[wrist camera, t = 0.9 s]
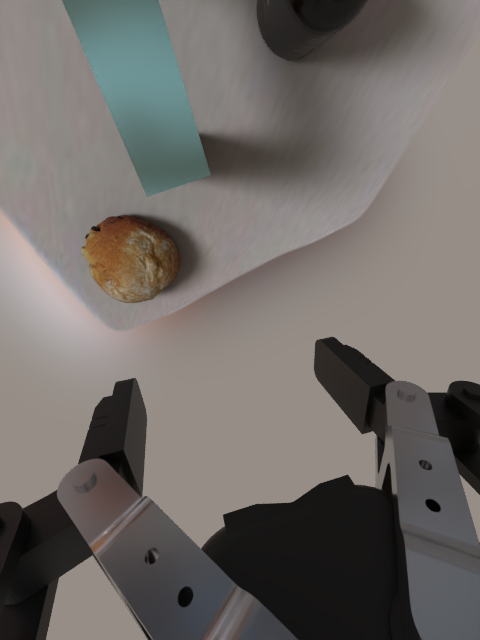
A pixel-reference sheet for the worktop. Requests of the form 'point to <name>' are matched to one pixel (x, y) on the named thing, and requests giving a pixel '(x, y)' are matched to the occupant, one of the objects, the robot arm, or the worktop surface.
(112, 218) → the bread roll
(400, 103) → the worktop surface
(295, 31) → the supplement bottle
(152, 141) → the gate
